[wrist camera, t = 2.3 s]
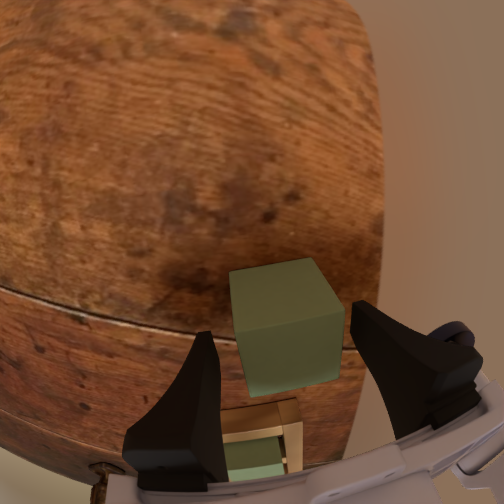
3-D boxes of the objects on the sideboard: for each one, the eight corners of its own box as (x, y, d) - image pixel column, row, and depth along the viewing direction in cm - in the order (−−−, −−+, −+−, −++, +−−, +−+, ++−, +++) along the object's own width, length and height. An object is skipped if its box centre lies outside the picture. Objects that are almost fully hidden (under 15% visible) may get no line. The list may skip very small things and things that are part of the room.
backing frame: (296, 397, 21) (302, 421, 19) (298, 462, 28) (302, 478, 26) (190, 413, 21) (190, 437, 18) (228, 473, 28) (230, 489, 25)
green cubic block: (272, 414, 22) (282, 463, 17) (276, 436, 24) (285, 478, 19) (220, 422, 22) (224, 471, 17) (230, 443, 24) (234, 485, 19)
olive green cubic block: (311, 256, 16) (346, 309, 11) (313, 320, 18) (339, 378, 13) (228, 271, 15) (233, 332, 11) (241, 334, 17) (250, 398, 13)
